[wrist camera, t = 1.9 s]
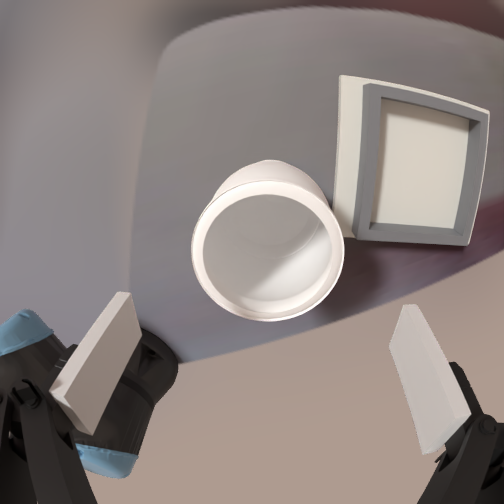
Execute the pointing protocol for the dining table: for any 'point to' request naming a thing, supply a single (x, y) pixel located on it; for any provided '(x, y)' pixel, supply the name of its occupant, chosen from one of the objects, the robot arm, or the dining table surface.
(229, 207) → the jar
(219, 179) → the dining table surface
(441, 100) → the socket board
